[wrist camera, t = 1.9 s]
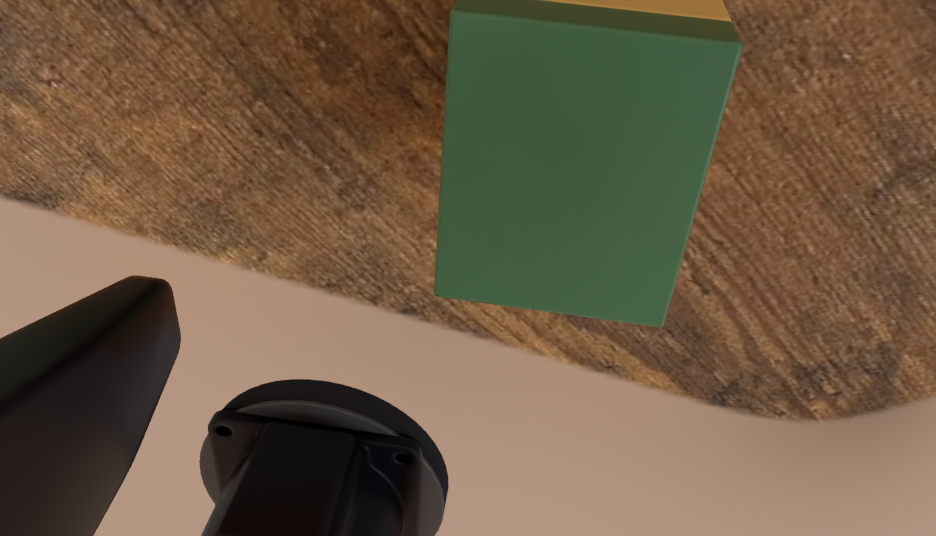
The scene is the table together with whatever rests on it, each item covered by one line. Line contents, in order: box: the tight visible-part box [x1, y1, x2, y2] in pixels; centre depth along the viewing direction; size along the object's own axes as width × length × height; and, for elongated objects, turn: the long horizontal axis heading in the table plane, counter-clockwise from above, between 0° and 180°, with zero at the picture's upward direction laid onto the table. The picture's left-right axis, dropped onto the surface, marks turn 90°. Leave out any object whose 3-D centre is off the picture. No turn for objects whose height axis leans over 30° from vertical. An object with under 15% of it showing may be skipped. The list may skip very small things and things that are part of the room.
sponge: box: [434, 0, 743, 327], centre depth 14 cm, size 5×4×5 cm
